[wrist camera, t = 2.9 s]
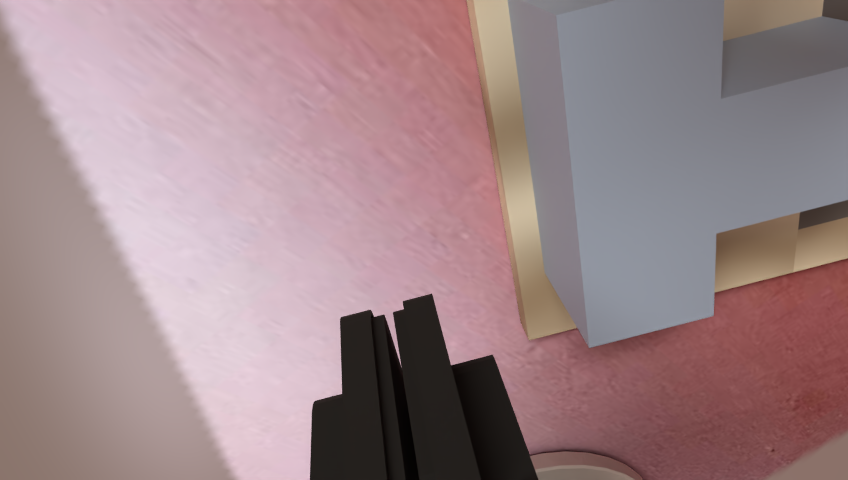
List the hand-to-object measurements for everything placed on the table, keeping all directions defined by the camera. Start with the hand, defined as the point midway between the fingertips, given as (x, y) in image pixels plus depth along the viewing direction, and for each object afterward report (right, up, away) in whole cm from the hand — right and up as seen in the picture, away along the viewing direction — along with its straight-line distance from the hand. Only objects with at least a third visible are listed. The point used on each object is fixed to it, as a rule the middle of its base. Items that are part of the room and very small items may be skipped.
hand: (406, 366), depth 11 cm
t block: (+9, +7, +9) cm, 14 cm away
